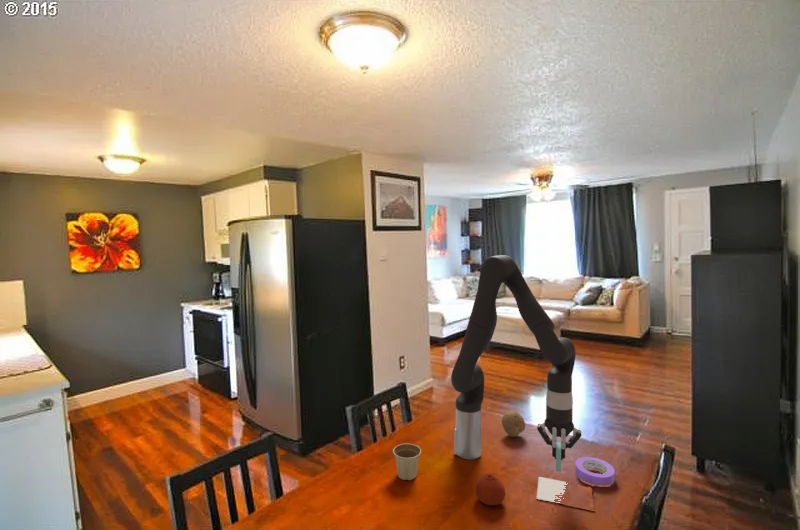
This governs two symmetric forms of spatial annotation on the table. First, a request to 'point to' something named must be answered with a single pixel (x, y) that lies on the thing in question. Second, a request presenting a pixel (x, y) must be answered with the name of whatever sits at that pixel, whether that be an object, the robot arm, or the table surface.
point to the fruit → (490, 490)
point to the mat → (550, 489)
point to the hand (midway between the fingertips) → (558, 458)
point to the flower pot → (407, 460)
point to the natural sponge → (513, 423)
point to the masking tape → (591, 477)
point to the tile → (558, 457)
